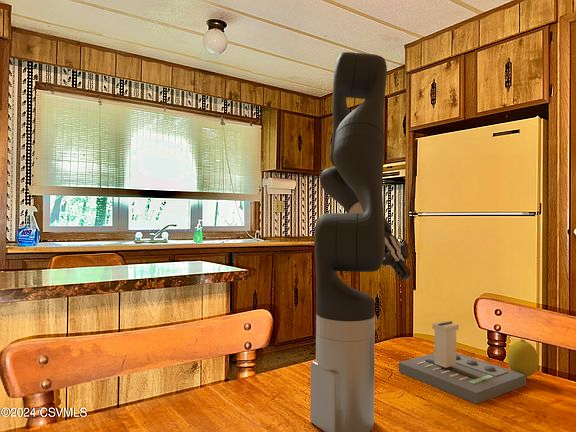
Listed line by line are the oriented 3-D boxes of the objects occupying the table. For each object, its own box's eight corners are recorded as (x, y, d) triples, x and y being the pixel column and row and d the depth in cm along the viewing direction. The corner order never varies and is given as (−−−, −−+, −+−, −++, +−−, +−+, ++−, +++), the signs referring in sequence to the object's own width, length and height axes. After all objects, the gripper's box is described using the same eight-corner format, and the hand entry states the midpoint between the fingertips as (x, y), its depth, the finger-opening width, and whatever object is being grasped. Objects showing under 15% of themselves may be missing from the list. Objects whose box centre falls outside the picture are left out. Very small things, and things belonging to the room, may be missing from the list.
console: (476, 404, 74) (476, 389, 74) (398, 371, 89) (398, 359, 89) (525, 385, 83) (525, 371, 83) (447, 358, 98) (447, 347, 98)
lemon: (545, 383, 83) (544, 342, 83) (517, 384, 83) (516, 343, 83) (528, 373, 89) (527, 335, 89) (502, 374, 89) (501, 335, 89)
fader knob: (446, 368, 84) (446, 325, 84) (432, 363, 87) (432, 322, 87) (458, 364, 86) (458, 323, 86) (444, 360, 89) (444, 319, 89)
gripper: (356, 210, 100) (395, 268, 89) (396, 211, 107) (436, 265, 97) (341, 232, 104) (376, 290, 94) (380, 231, 111) (417, 284, 101)
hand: (406, 277), depth 95 cm, fingers closed
